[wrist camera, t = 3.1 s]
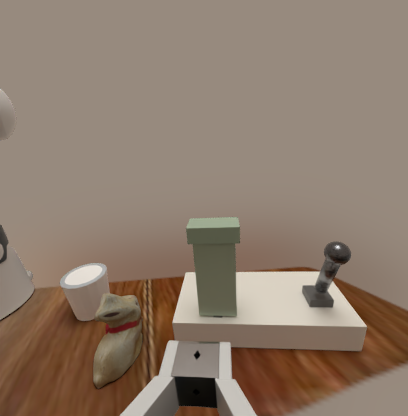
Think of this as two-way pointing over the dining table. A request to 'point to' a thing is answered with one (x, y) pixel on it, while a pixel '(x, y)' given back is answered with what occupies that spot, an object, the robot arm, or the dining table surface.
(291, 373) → the dining table surface
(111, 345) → the chocolate bunny
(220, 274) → the capped sage pillar
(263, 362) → the dining table surface
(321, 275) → the graphite lever
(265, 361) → the dining table surface
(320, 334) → the control bank
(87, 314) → the white tapered cup
